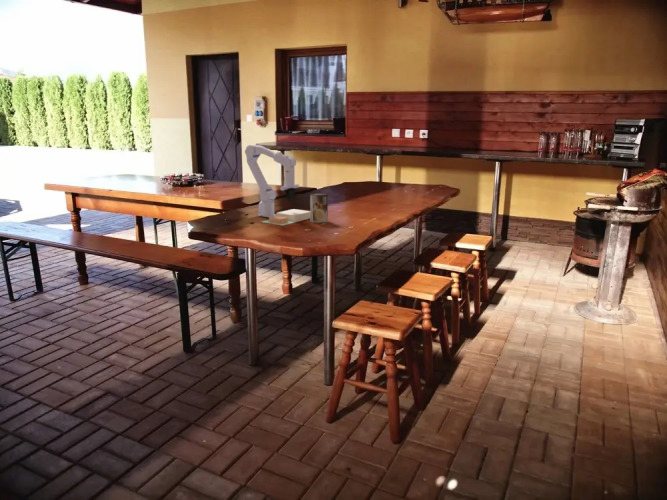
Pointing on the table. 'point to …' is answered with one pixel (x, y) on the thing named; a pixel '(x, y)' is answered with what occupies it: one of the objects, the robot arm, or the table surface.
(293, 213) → the white panel
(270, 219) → the terracotta tile
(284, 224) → the green mat
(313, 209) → the coffee box
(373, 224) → the table surface
